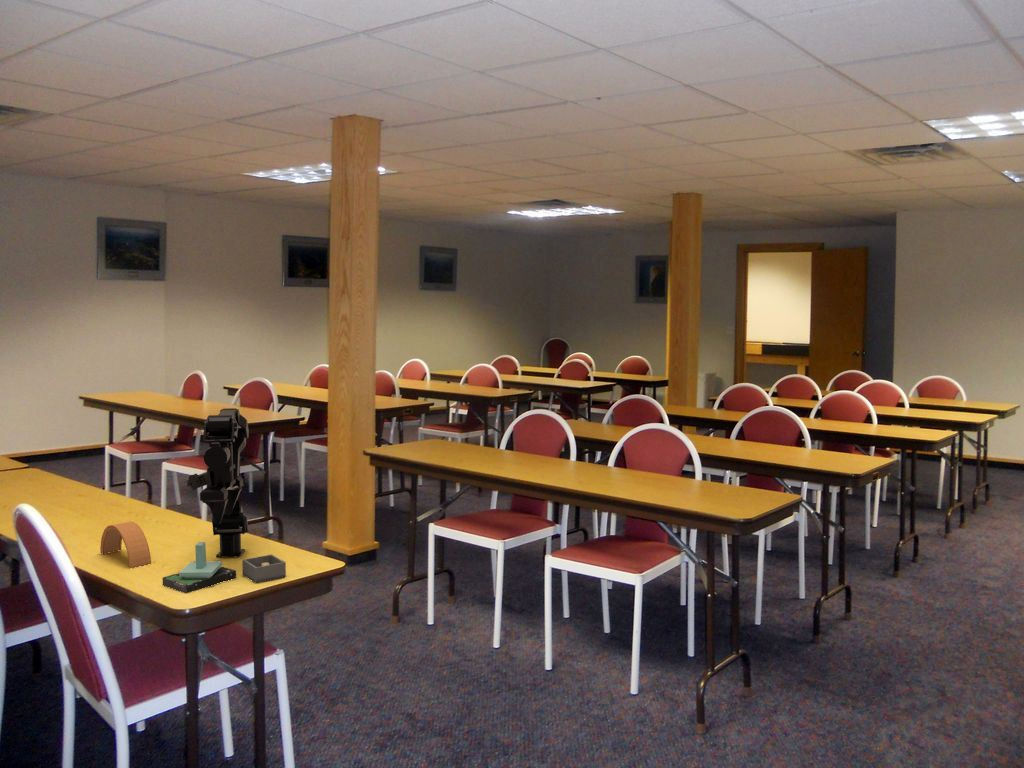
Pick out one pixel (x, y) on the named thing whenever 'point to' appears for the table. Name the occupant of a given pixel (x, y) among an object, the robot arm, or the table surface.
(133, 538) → the arch
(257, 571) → the tub
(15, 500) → the table surface
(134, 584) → the table surface
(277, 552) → the table surface
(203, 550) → the lid
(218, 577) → the disk drive
